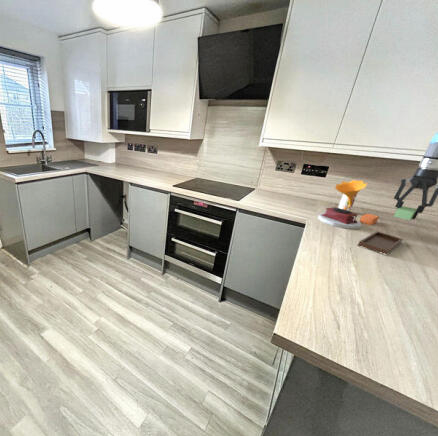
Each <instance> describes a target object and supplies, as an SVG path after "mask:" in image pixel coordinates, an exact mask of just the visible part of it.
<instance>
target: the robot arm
mask: <svg viewBox="0 0 438 436" xmlns="http://www.w3.org/2000/svg"><path fill="white" fill-rule="evenodd" d="M409 183H410V184H411V186H410V187H409V188H408V189H407V190H406V191H405V192H404V191H403V190H404V189H405V187H406V186H407V184H409ZM432 187H434V188H435V190H434V191H433V194H432V196H431V198H430V200H429V202H428V196H429V190H430V188H432ZM415 189H418V190H419V189H420V190H422V194H421V195H422V197H421V204H420V205H418V206H417V208H416V209H417V210H416V212H415V214H414V216H413V217H412V219H411V220H415V219H417V216H418V215H419V214H422V213H423V212H424V210H425V208H426V207H427V208H428V207H433V206H434V204H435V202H436V200H437V199H438V132H436V133H435V134H434V135H433V137H432V138H431V140H430V142H429V143H428V146H427V148H426V150H425V152H424V154H423V156H422V158H421V159H420V162H419V163H418V167H417V168H416V169H415V172H414V174H413V176H412V177H410V178H402V179H401V181H400V186H399V187H398V189H397V191H396V193H395V195H394V196H393V199H394V200H395V201H397V202H396V204H395V206H394V207H395V208H396V210H395V212H394V214H395V213H396V211H397V209H398V208H401V207H403V206H404V203H405V201H404V200H405V199H406V198H407V197H408V196H409V195H410V194H411V193H412V192H413V191H414V190H415ZM403 192H404V193H403ZM402 193H403V194H402Z"/></svg>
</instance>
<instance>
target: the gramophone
mask: <svg viewBox="0 0 438 436" xmlns="http://www.w3.org/2000/svg"><path fill="white" fill-rule="evenodd" d="M367 185H368V183H367V182H366V183H365V182H364V181H363V180H355V179H351V180H350V181H348V182H347V181H345V180H343V181H342V182H341V183H336V184H335V187H334V190H337V192H339V193H341V194H342V195H343V194H344V195H346V196H347V197H348V200H349V205H348V207H347V208H346V207H344V209H340V208H338V206H337V207H336V206H334V207H326V208H325V212H321V213H319V214H318V215H317V219H318V220H319V221H321V222H322V223H325V224H327V225H329V226H332V227H336V228H342V229H346V228H347V229H346V230H358V229H361V227H362V224H363V223H361V222H359V221H360V220H357V217H358V216H359V215H360V214H358V213H355V212H352V211H351V210H350V211H348V210H349V208H350V207H351V205H352V203H353V197H354V195H355V194H356V193H357V194H359V192H360V191H361V190H363V189H366V186H367ZM353 204H354V203H353ZM346 209H347V210H346Z"/></svg>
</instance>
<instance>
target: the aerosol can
mask: <svg viewBox="0 0 438 436" xmlns="http://www.w3.org/2000/svg"><path fill="white" fill-rule="evenodd" d="M357 196H358V193H356V194H355V195H354V197H353V203H352V205H351V207H350V208H349V210H348V211H350V212H351V211H352V208H353V205H354V203H355V201H356V198H357ZM348 205H349V200H348V197H347V196H346V195H344V194H342V196H341V199H340V201H339V203H338V206H337V208H340V209H344V207H346V208H347V207H348ZM346 210H347V209H346Z"/></svg>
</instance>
